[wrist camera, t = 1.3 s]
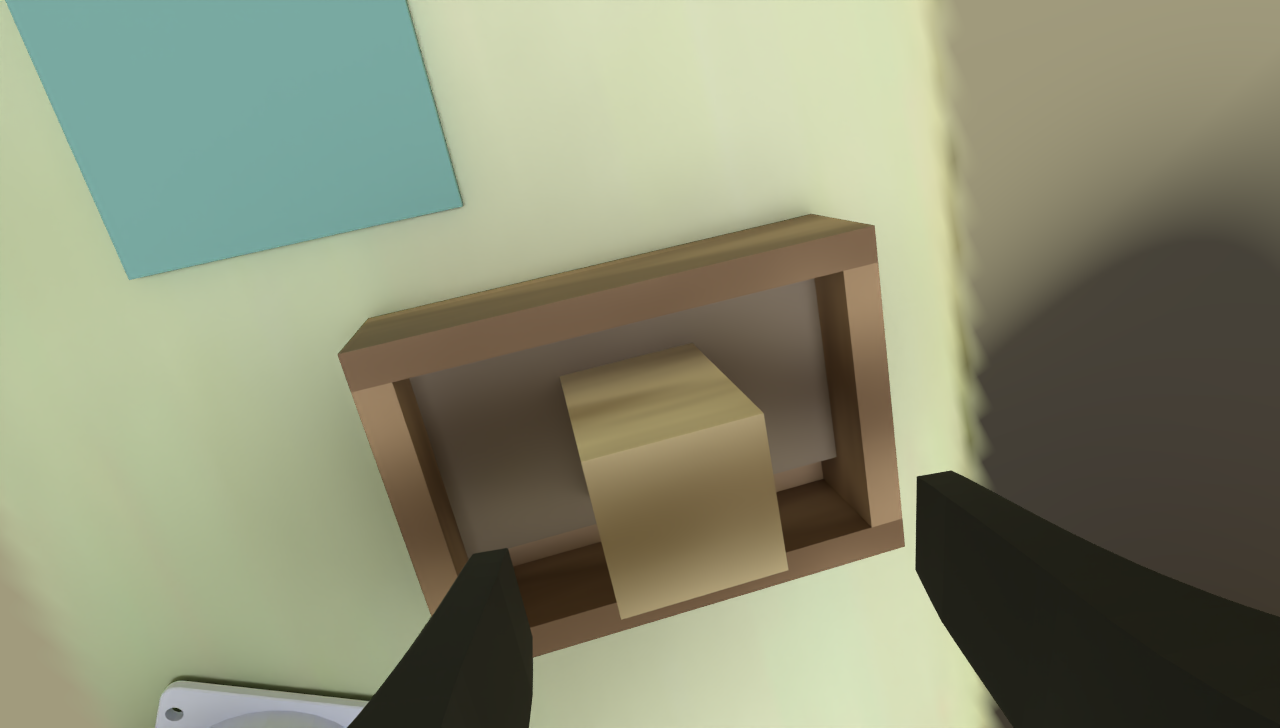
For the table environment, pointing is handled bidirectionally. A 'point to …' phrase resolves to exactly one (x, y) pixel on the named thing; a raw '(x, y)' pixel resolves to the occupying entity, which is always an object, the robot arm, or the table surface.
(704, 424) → the maple block
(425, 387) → the walnut crate
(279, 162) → the teal mat
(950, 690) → the table surface
